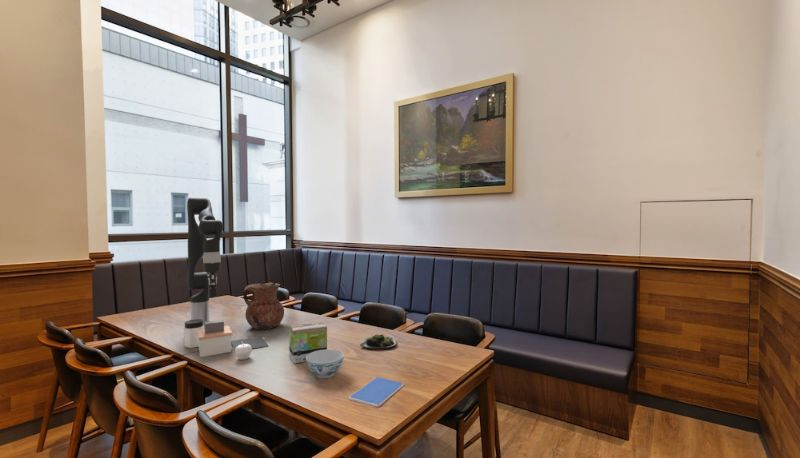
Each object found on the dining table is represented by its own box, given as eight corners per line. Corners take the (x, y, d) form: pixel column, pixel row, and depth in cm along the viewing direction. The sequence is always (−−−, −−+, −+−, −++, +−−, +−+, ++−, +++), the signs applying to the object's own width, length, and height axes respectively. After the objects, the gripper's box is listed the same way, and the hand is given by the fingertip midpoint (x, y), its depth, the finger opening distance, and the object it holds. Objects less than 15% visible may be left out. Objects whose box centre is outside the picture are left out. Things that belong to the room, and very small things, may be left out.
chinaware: (309, 386, 139) (309, 365, 139) (303, 371, 153) (303, 352, 152) (348, 378, 145) (348, 359, 145) (339, 365, 159) (338, 347, 158)
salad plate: (361, 338, 195) (361, 329, 195) (395, 337, 196) (395, 328, 196) (359, 351, 176) (358, 341, 176) (396, 350, 176) (396, 340, 176)
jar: (184, 349, 180) (184, 324, 180) (183, 344, 187) (183, 320, 186) (205, 345, 185) (204, 321, 185) (203, 341, 192) (203, 318, 191)
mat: (230, 342, 190) (230, 341, 190) (261, 337, 197) (261, 336, 197) (235, 352, 175) (235, 351, 175) (268, 346, 183) (268, 345, 183)
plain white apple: (235, 357, 169) (234, 339, 169) (251, 354, 172) (251, 337, 172) (234, 362, 163) (234, 344, 162) (252, 359, 165) (251, 342, 165)
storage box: (198, 348, 180) (198, 332, 180) (227, 343, 187) (227, 328, 187) (200, 357, 169) (200, 339, 169) (231, 351, 176) (231, 334, 176)
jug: (270, 319, 232) (270, 279, 232) (292, 324, 220) (291, 283, 219) (237, 328, 214) (236, 285, 214) (258, 334, 202) (258, 288, 201)
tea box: (293, 364, 159) (293, 330, 159) (289, 357, 168) (288, 324, 168) (327, 358, 166) (327, 325, 166) (321, 351, 175) (321, 320, 175)
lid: (197, 334, 180) (196, 320, 180) (228, 330, 188) (228, 316, 187) (198, 342, 168) (198, 327, 168) (232, 337, 176) (232, 323, 175)
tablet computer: (376, 379, 145) (376, 375, 145) (405, 385, 140) (405, 382, 140) (347, 400, 128) (347, 397, 128) (378, 409, 122) (378, 405, 122)
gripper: (203, 261, 183) (204, 293, 183) (203, 263, 170) (204, 298, 170) (220, 260, 186) (221, 292, 186) (221, 262, 174) (222, 296, 174)
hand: (213, 295), depth 178 cm, fingers open, 8 cm apart
